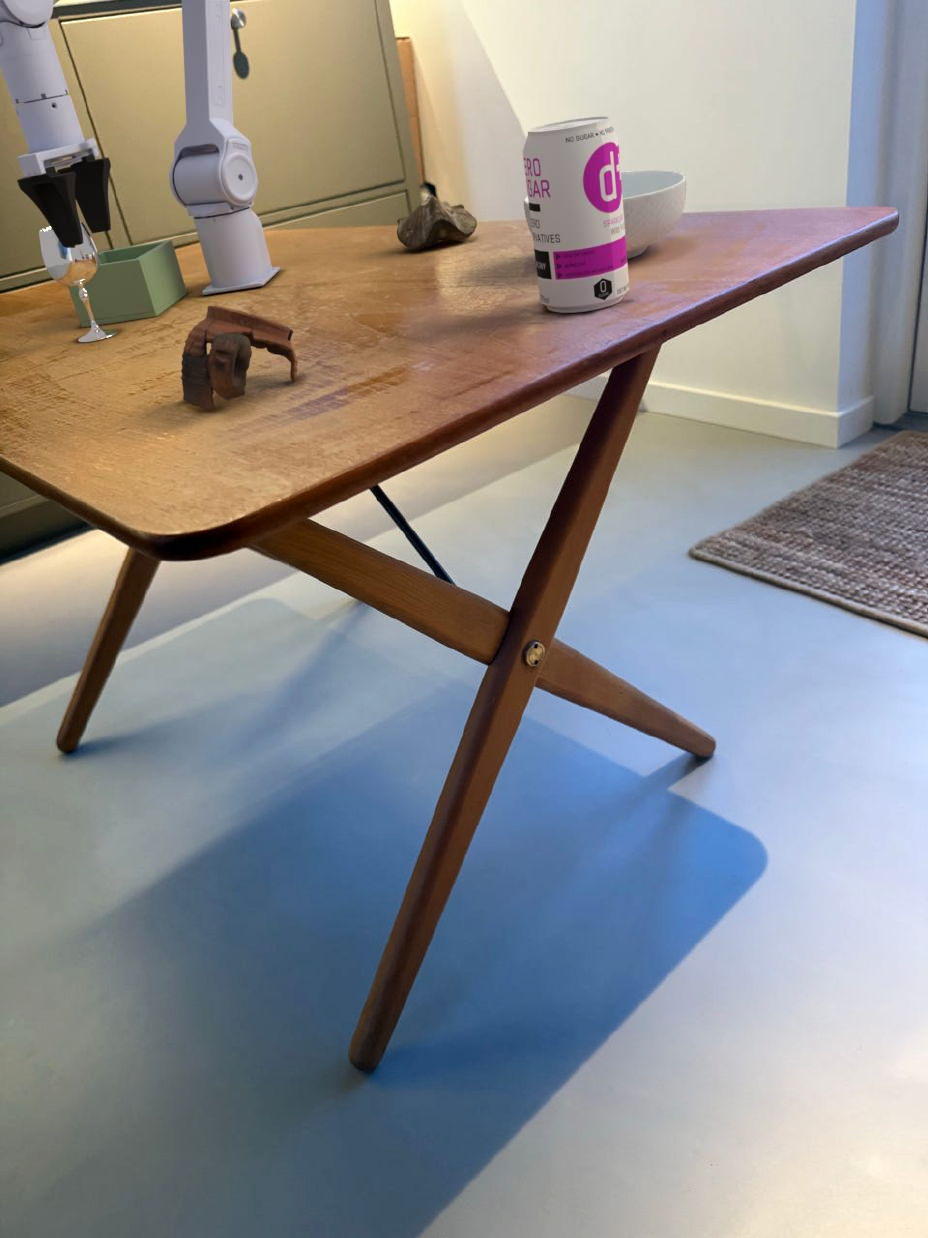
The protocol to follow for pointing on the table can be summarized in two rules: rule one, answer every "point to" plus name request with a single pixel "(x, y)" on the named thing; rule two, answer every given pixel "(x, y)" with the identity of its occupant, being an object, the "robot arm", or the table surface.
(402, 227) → the fossilized seashell
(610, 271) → the supplement can
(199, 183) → the robot arm
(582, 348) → the table surface
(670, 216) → the cereal bowl
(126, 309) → the bin
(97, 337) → the wineglass
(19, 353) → the table surface
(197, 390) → the reddish-brown arched part
